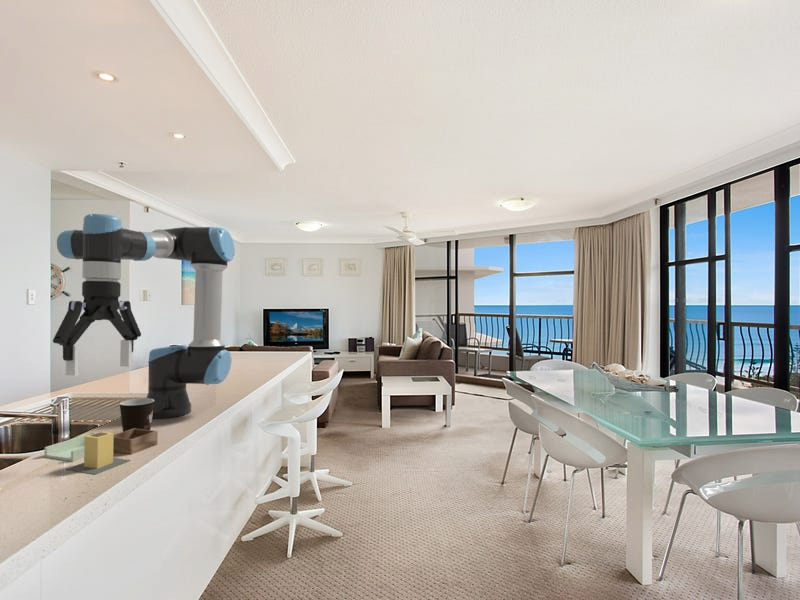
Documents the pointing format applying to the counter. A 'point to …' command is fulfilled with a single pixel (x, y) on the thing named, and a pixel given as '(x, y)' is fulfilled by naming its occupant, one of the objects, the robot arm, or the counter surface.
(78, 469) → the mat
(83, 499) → the counter surface
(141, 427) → the coffee mug
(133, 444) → the walnut box
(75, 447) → the sage tray
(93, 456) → the yellow block
